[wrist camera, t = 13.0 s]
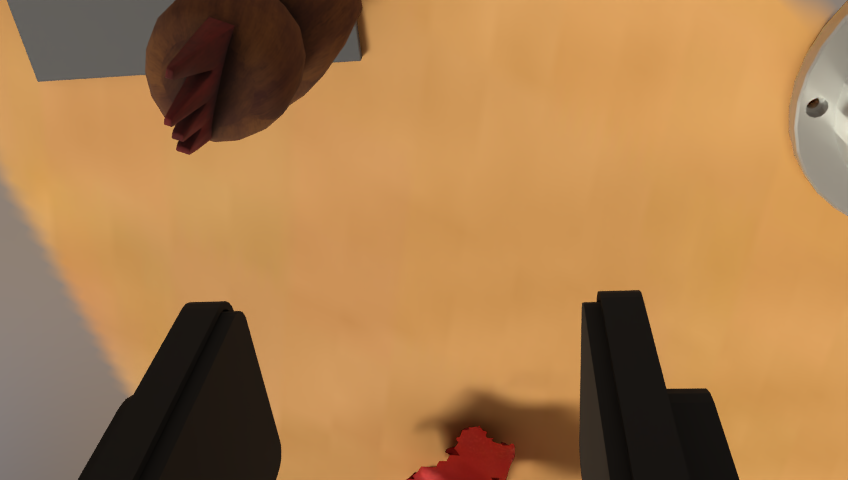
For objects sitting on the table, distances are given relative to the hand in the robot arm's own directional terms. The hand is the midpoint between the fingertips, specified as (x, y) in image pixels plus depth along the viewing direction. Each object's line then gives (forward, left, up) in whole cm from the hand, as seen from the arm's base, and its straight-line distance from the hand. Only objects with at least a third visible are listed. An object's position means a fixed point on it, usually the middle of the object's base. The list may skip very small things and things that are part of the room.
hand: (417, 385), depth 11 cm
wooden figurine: (+7, 0, -24) cm, 25 cm away
